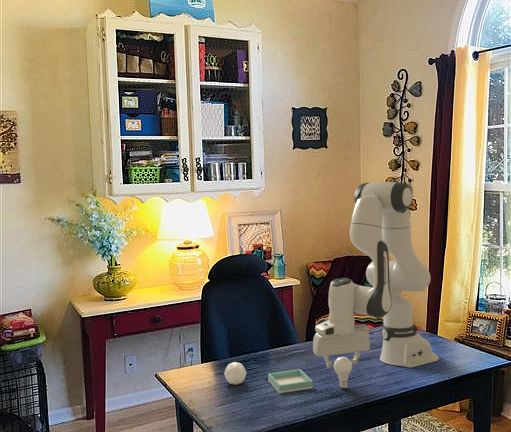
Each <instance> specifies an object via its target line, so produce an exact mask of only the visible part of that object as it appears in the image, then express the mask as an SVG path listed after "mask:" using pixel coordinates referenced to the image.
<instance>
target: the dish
mask: <svg viewBox="0 0 511 432" xmlns="http://www.w3.org/2000/svg"><path fill="white" fill-rule="evenodd" d="M267 378H268V379H267V380H268V382H269V383H270V384H271V385H272V387H274V389H275V390H276V391H277V392H278V394H282V393H290V392H297V391H302V390H303V391H304V390H309V389H314V381H313V379H311V377H309V376H308V375H307V373H305V372H304V371H303V370H302V369H300V368H298V369H291V370H284V371H276V372H270V373H267Z"/></svg>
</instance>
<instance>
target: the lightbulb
mask: <svg viewBox="0 0 511 432" xmlns="http://www.w3.org/2000/svg"><path fill="white" fill-rule="evenodd" d="M351 362H352V361H351V360H350V359H349V358H348V357H346V356H339V357H337V358H336V359H335V360H334V363H333V369H334V371H335V373H336V375H337V377H338V380H339V387H340V388H341V389H346V388H347V387H348V379H349V376H350V374H351V372H352V370H353V364H352V363H351Z"/></svg>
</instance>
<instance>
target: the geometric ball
mask: <svg viewBox="0 0 511 432" xmlns="http://www.w3.org/2000/svg"><path fill="white" fill-rule="evenodd" d="M246 375H247V370H246V369H245V367H244V365H243V364H242V363H240V362H236V361H234V362H231V363H228V364H227V366H226V367H225V370H224V377H225V379H226V381H227V382H228V383H229V384H231V385H233V386H236V385H240V384H242V383H243V382H244V380H245V379H246Z"/></svg>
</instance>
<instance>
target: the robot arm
mask: <svg viewBox="0 0 511 432" xmlns="http://www.w3.org/2000/svg"><path fill="white" fill-rule="evenodd" d="M413 196H414V195H413V191H412V189H411V187H410V186H409V185H408V184H407V183H405V182H400V181H398V182H394V181H381V182H380V181H378V182H364V183H361V184H359V185H358V186H357V187H356V189H355V191H354V195H353V200H354V204H355V205H354V208H353V211H352V216H351V221H350V227H349V240H350V242H351V244H352V245H353V246H354V248H356V249H357V250H359V251H360V252H362V253H363V254H365V255H367V256H368V257H369V258H370V260H372V261H371V262H370V263H369V264H368V266H367V267H366V271H365V277H366V280H367V282H368V283H369V284H370V285H371V286H365V285H364V286H363V285H360V284H356V283H354V282H353V280H352V279H350V278H348V277H341V278H336V279H333V280H331V282H330V285H329V289H328V308H329V314H328V319H326V320H325V321H323V322H321V323H318V324H316V325H315V328H314V330H315V332H316V333H315V334H314V335H313V339H312V340H313V341H312V352H313V354H314V355H316V356H317V357H323V359H324V361H325V363H326V364H325V365H326V368H327V369H330V368H333V362H332V361H330V360H329V359H330V356H334V355H336V356H337V355H344V354H353V353H354V356H353V358H351V360H350V361H351V363H352V366H353V365H355V366H356V365H358V360H359V358H360V356H361V352H368V351H369V350H370V349H371V342H370V341H371V340H370V335H369V334H370V327H369V326H368V325H367V324H365V323H362V324H361V323H360V324H355V319H356V318H355V313H357V314H361V315H364V316H365V315H366V316H369V317H372V318H376V319H381V318H383V323H382V327H381V329H382V331H381V332H382V348H381V352H380V353H381V354H380V356H379V360H380V362H381V363H384V364H388V365H391V366H399V367H405V368H415V367H418V366H422V365H426V364H431V363H435V362H438V361H439V359H440V358H439V356H438V355H437V353H434V352H433V348H432V345H431V342H429V341H428V340H427V339H425V338H424V337H423V336H421V335H420V334H419V333H421V332H422V330H423V328H422V326H420V325H417V324H415V323H413V313H414V312H413V306H412V303H411V302H410V301H409V300H408V299H406V298H405V297H404V296H403V295H402V293H401V291H404V292H409V293H410V292H413V293H414V292H415V293H416V292H424V291H426V289H427V288H428V287H429V285H430V283H431V278H432V277H431V273H430V271H429V268H428V267H427V266H425V265H424V264H423V263H422V262H421V261H420V259H419V258H418V257H417V255H416V253H415V250H414V248H413V247H414V246H413V243H412V230H411V216H410V210H409V208H410V207H411V205H412V203H413V198H414V197H413ZM390 255H391V256H392V258H393V259H394V260H390V257H389V256H390ZM418 332H419V333H418Z"/></svg>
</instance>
